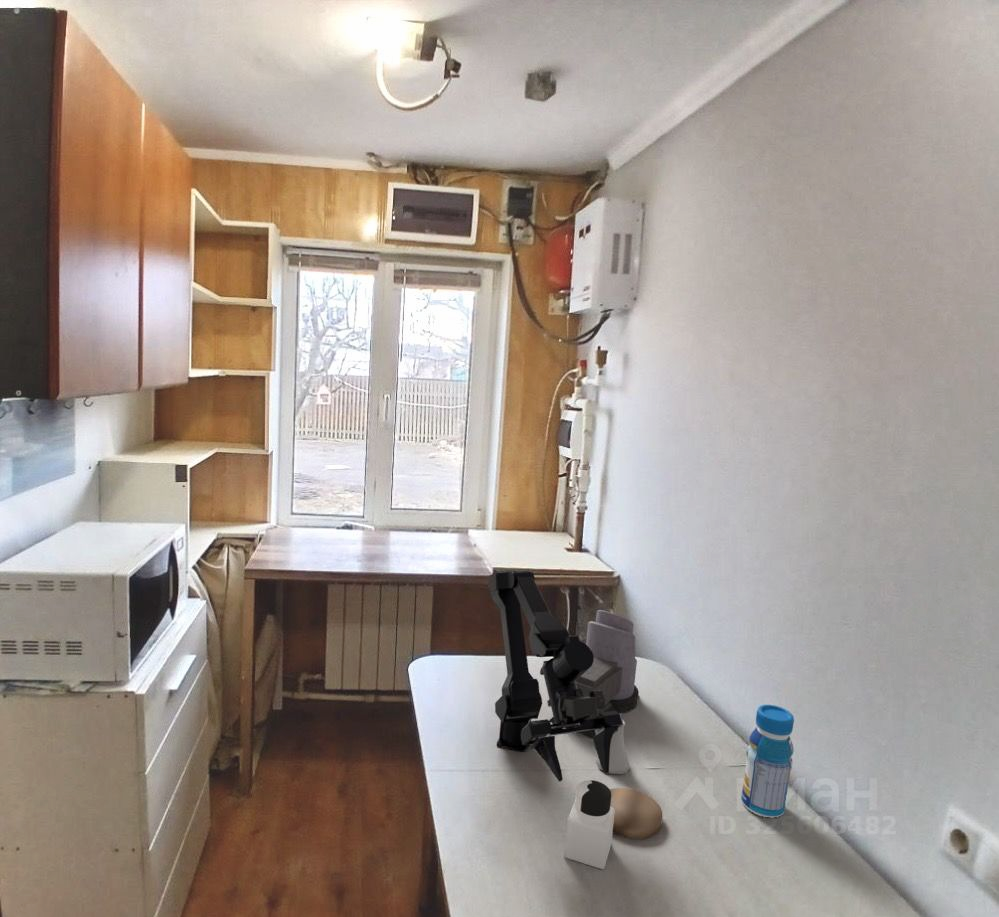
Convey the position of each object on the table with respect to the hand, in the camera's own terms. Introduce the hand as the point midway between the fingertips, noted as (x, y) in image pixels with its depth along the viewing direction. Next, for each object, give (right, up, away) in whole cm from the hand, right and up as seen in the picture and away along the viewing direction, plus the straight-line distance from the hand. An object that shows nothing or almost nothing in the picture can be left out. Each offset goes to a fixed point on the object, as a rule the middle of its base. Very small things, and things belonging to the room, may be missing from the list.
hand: (584, 777), depth 121 cm
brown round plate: (+10, -11, +8) cm, 17 cm away
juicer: (+9, -6, +50) cm, 51 cm away
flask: (+9, -9, +25) cm, 28 cm away
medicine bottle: (0, -12, -2) cm, 12 cm away
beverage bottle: (+37, -13, +15) cm, 42 cm away
